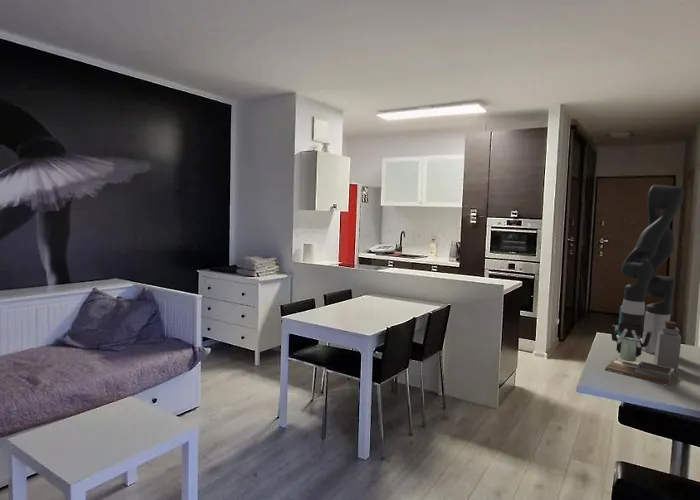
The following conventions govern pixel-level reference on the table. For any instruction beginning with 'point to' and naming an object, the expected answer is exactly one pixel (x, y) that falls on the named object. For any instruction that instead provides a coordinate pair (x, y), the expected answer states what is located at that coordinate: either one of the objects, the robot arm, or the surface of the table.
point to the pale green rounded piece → (628, 349)
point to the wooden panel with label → (643, 370)
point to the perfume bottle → (668, 346)
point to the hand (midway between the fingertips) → (628, 354)
